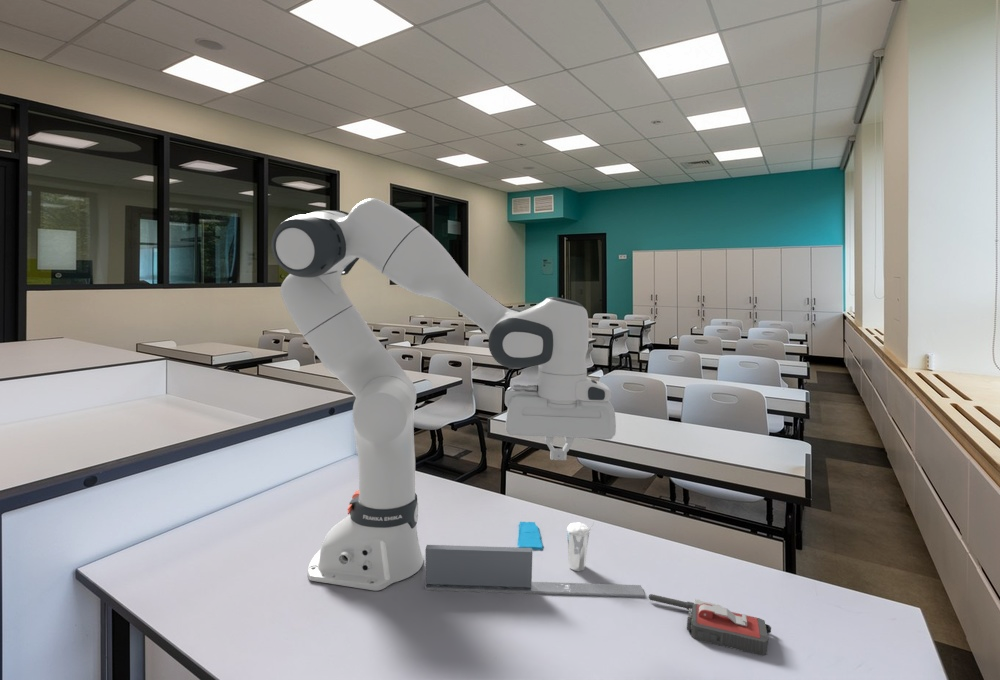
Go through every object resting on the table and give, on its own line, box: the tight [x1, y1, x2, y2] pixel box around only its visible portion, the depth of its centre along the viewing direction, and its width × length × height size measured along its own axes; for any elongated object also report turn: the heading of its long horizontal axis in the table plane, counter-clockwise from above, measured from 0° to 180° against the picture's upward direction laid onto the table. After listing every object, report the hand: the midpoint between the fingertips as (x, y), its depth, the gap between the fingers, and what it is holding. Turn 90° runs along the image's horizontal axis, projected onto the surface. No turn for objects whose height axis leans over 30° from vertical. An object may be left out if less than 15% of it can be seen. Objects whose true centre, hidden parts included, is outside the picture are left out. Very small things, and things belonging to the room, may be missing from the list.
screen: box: [425, 544, 533, 587], centre depth 99 cm, size 20×2×7 cm, turn 89°
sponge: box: [517, 521, 544, 551], centre depth 119 cm, size 2×12×6 cm
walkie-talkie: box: [648, 593, 772, 657], centre depth 89 cm, size 9×4×20 cm
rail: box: [424, 581, 645, 598], centre depth 99 cm, size 41×3×1 cm, turn 89°
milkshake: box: [566, 521, 595, 572], centre depth 106 cm, size 5×5×10 cm
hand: (558, 459), depth 98 cm, fingers closed
